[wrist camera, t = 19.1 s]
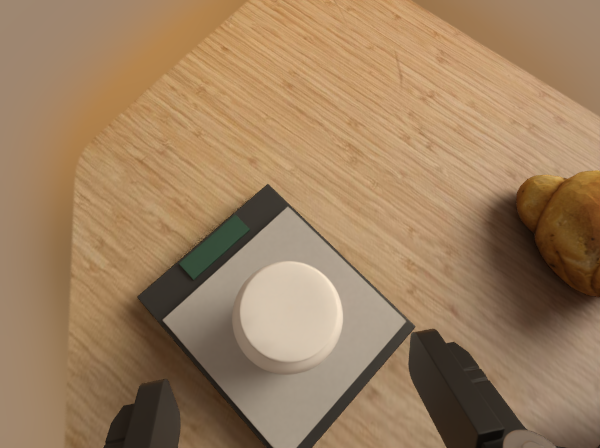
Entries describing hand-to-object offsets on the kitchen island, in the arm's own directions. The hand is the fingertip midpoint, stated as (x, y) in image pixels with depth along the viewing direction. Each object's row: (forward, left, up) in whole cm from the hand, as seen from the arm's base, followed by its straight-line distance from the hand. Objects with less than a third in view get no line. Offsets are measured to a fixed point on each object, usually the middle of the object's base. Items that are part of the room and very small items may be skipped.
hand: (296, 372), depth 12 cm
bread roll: (+26, -11, -19) cm, 34 cm away
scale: (+2, +3, -18) cm, 19 cm away
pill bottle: (+2, +2, -16) cm, 16 cm away
